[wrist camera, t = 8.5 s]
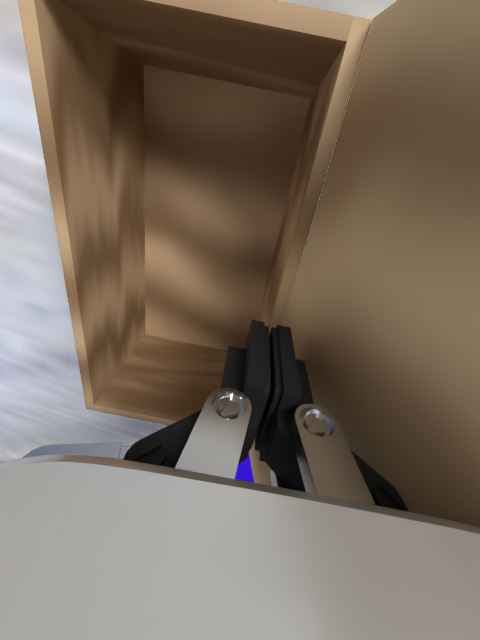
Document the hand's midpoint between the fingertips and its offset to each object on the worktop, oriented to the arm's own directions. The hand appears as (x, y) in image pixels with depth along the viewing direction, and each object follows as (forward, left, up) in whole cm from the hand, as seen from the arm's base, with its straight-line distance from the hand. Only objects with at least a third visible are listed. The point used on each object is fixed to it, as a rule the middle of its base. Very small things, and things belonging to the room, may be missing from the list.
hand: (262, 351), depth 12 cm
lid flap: (0, +2, +3) cm, 4 cm away
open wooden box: (0, -5, -13) cm, 14 cm away
